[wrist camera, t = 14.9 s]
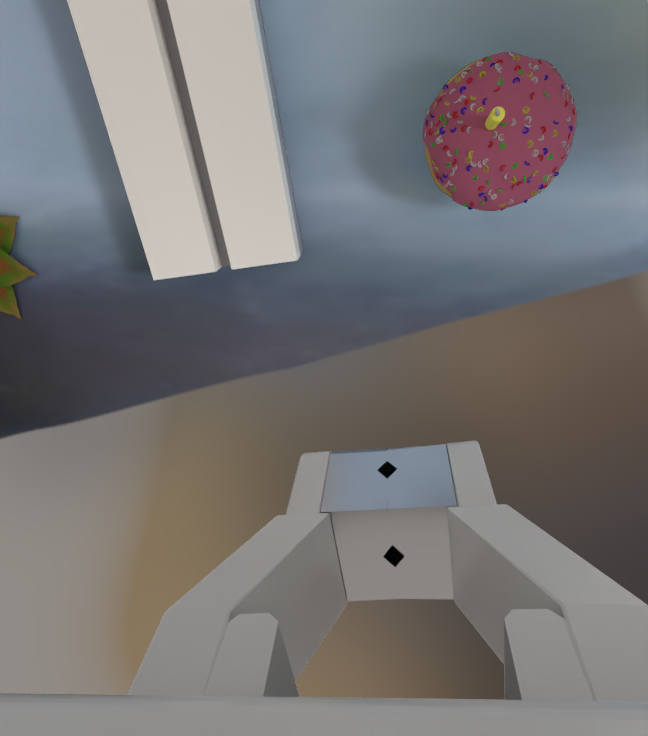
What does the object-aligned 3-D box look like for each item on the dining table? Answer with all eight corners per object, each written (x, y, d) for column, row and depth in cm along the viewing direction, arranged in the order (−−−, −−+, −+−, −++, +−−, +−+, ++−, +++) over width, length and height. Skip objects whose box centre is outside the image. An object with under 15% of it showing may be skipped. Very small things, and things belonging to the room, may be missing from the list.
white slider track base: (190, -386, 25) (166, -449, 22) (303, 250, 38) (297, 260, 36) (-4, -315, 27) (-48, -366, 24) (168, 269, 40) (153, 280, 37)
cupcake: (393, 152, 35) (398, 165, 24) (477, 29, 31) (527, -21, 21) (489, 225, 36) (535, 267, 25) (580, 115, 33) (677, 111, 22)
